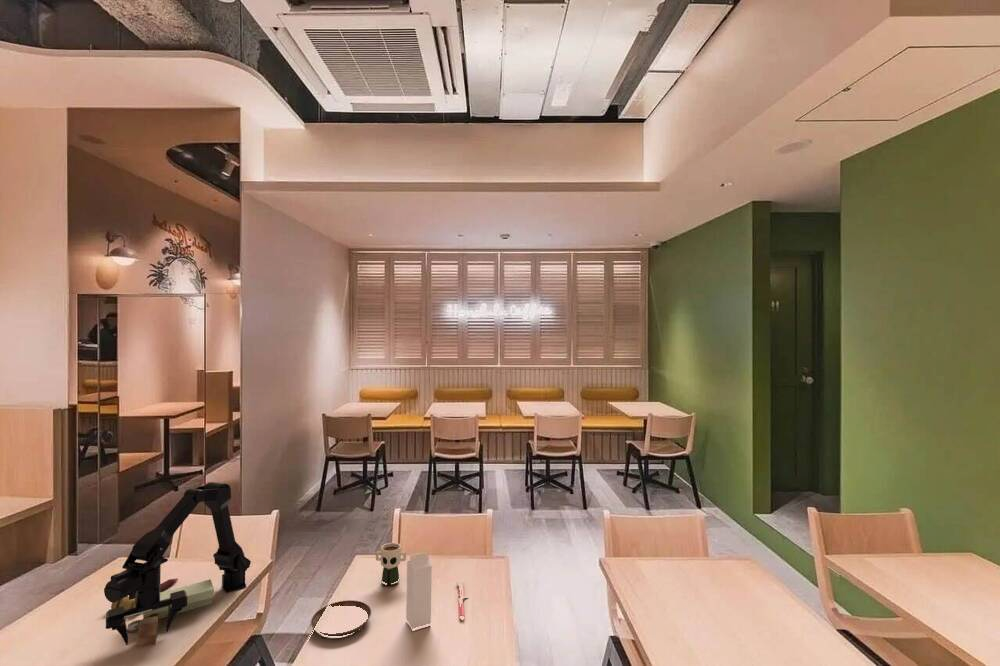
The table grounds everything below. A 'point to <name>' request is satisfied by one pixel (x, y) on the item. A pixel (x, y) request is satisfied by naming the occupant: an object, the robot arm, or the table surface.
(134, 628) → the token
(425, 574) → the milk
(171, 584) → the gavel
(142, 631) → the pusher tool
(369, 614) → the plant saucer
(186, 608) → the plinth shelf
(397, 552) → the character mug
